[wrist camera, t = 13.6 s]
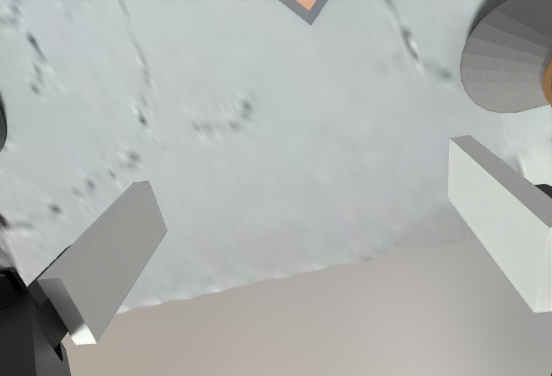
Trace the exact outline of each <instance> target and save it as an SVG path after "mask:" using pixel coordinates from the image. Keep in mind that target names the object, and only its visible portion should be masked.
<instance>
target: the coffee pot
mask: <svg viewBox="0 0 552 376" xmlns="http://www.w3.org/2000/svg"><path fill="white" fill-rule="evenodd" d="M460 73H461V82H462V84H463V86H464V89H465V91H466V93H467V95H468V96H469V97H470V98H471V99H472V100H473V101H474V102H475V104H477V105H479V106H481V107H482V108H484V109H486V110H489V111H493V112H497V113H517V112H521V111H525V110H529V109H533V108H537V107H541V106H545V105H549V104H550V105H551V106H552V0H508V1H506V2H504V3H503V4H501V5H499V6H498V7H496V8H494V9H493V10H492V11H491V12H490V13H488V14H487V15H486V16H485V17H484V18H483V19H482V20H481V21H480V22H479V23H478V24H477V26H476V27H475V29H474V30H473V32H472V33H471V34H470V36H469V38H468V40H467V42H466V45H465V47H464V49H463V52H462V57H461V63H460Z"/></svg>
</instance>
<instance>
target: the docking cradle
mask: <svg viewBox="0 0 552 376" xmlns="http://www.w3.org/2000/svg"><path fill="white" fill-rule="evenodd" d="M279 1H281V2H282V3H283V4H284V5H286V6H287V7H288V8H289V9H291V10H292V11H293V12H295V13H296V14H297V15H298V16H300V17H301V18H302V19H304V20H305V21H306V22H307V23H309V24H310V25H312V23H313V22H314V20H315V19H316V17H317V16H318V14H319V13H320V11H321V10H322V8H323V7H324V5H325V4H326V2H327V1H328V0H279Z"/></svg>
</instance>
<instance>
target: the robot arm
mask: <svg viewBox="0 0 552 376" xmlns="http://www.w3.org/2000/svg"><path fill="white" fill-rule="evenodd" d="M5 138H6V125H5V120H4V116H3V113H2V110H1V107H0V151H1V150H2V148H3V145H4V142H5ZM448 199H449V200H450V201H451V203H452V204H453V205H454V207H455V208H456V209H457V211H458V212H459V213H460V215H461V216H462V217H463V219H464V220H465V221H466V223H467V224H468V225H469V227H470V228H471V229H472V231H473V232H474V233H475V235H476V236H477V237H478V238H479V240H480V241H481V242H482V244H483V245H484V246H485V248H486V249H487V250H488V252H489V253H490V254H491V256H492V257H493V258H494V259H495V261H496V262H497V264H498V265H499V266H500V268H501V269H502V270H503V272H504V273H505V274H506V276H507V277H508V278H509V280H510V281H511V282H512V284H513V285H514V286H515V288H516V289H517V290H518V292H519V293H520V294H521V296H522V297H523V298H524V300H525V301H526V302H527V304H528V305H529V306H530V308H531V309H532V310H533V312H534V313H535V312H548V311H552V186H549V185H547V184H540V185H533V184H532V183H531V182H529V181H528V180H527V179H526V178H524V177H523V176H522V175H520V174H519V173H518V172H517V171H515V170H514V169H513V168H511V167H510V166H509V165H507V164H506V163H505V162H504V161H502V160H501V159H500V158H498V157H497V156H496V155H495V154H493V153H492V152H491V151H489V150H488V149H487V148H485V147H484V146H483V145H482V144H480V143H479V142H478V141H476V140H475V139H474V138H472V137H471V136H470V135H469V136H462V137H455V138H450V144H449V177H448ZM166 232H167V228H166V225H165V223H164V220H163V217H162V215H161V212H160V209H159V207H158V204H157V201H156V198H155V196H154V193H153V190H152V188H151V185H150V182H149V181H143V182H136V183H133V184H132V185H131V186H130V187H129V188H128V189H127V190H126V191H125V192H124V193H123V194H122V195H121V196H120V197H119V198H118V199H117V200H116V201H115V202H114V203H113V204H112V205H111V206H110V207H109V208H108V209H107V210H106V211H105V212H104V213H103V214H102V215H101V216H100V217H99V218H98V219H97V220H96V221H95V222H94V223H93V224H92V225H91V226H90V227H89V228H88V229H87V230H86V231H85V232H84V233H83V234H82V235H81V236H80V237H79V238H78V239H77V240H76V241H75V242H74V243H73V244H72V245H70V246H69V247H67V248H66V249H65V250H64V251H63V252H62V253H61V254H60V255H59V256H58V257H57V259H55V260H54V261H53V262H52V263H51V264H50V265H49V267H47V268H46V269H45V270H44V271H43V272H42V273H41V274H40V275H39V276H38V277H37V278H36V279H35V280H33V281H32V282H31V283H30V284H29V285H28V286H26V285H25V283H24V282H23V280H22V278H21V277H20V275H19V274H18V272H17V270H16V269H15V268H13V267H7V268H1V269H0V376H71V374H70V368H69V363H68V358H67V353H66V349H65V347H64V346H63V344H62V343H61V340H62V339H63V337H64V336H65V335H66V334H67V332H69V334H70V336H71V337H72V339H73V341H74V342H75V344H76V345H78V344H93V343H97V342H98V341H99V339H100V337H101V336H102V334H103V333H104V331H105V329H106V328H107V326H108V325H109V323H110V321H111V320H112V318H113V317H114V315H115V314H116V312H117V310H118V309H119V307H120V306H121V304H122V302H123V301H124V299H125V298H126V296H127V294H128V293H129V291H130V290H131V288H132V286H133V285H134V283H135V282H136V280H137V278H138V277H139V275H140V274H141V272H142V271H143V269H144V267H145V266H146V264H147V263H148V261H149V259H150V258H151V256H152V255H153V253H154V251H155V250H156V248H157V247H158V245H159V243H160V242H161V240H162V239H163V237H164V235H165V234H166ZM551 376H552V374H551Z"/></svg>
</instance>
